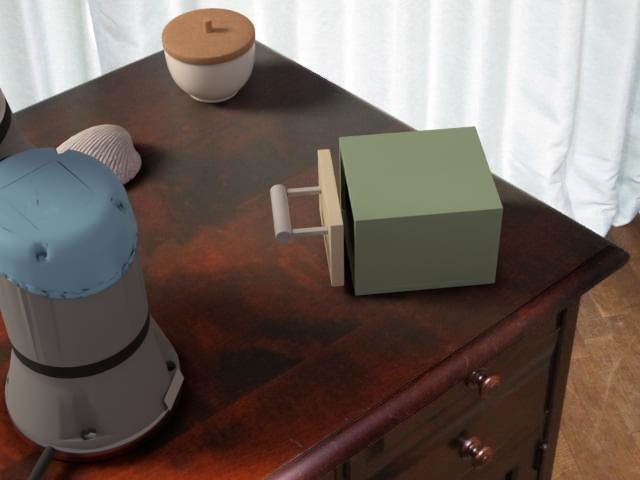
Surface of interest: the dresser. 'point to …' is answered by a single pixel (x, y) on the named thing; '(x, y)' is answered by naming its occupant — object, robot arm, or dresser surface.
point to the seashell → (107, 149)
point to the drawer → (328, 213)
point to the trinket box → (210, 52)
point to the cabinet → (420, 210)
